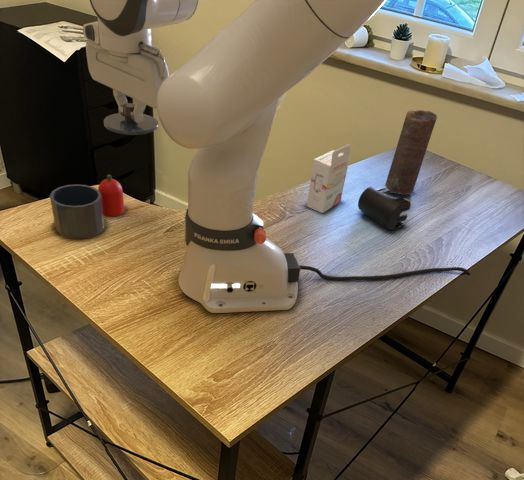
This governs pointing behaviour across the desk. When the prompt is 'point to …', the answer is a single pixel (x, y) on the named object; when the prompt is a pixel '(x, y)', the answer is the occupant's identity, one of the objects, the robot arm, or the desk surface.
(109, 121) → the pot lid
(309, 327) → the desk surface
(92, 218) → the pot
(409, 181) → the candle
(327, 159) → the ink cartridge box
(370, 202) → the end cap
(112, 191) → the pepper
